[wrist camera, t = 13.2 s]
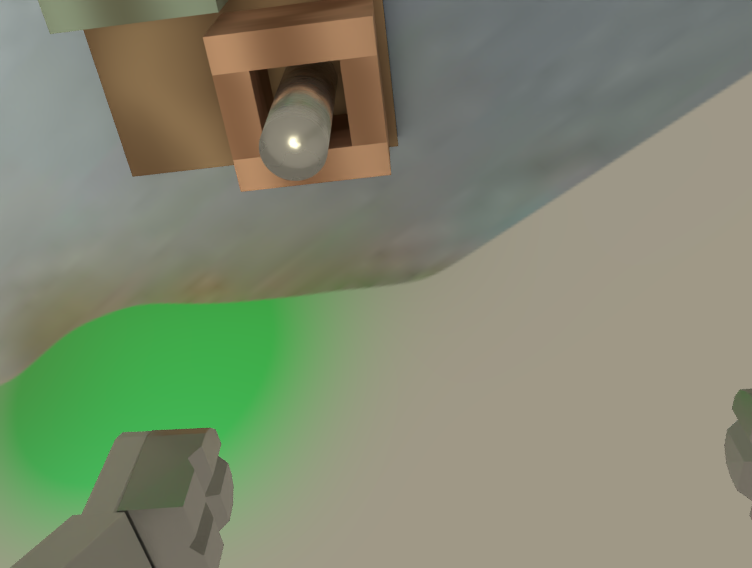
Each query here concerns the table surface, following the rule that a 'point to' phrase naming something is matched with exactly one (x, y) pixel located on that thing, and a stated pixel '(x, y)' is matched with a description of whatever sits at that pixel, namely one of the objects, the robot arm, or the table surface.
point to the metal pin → (300, 121)
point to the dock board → (180, 90)
